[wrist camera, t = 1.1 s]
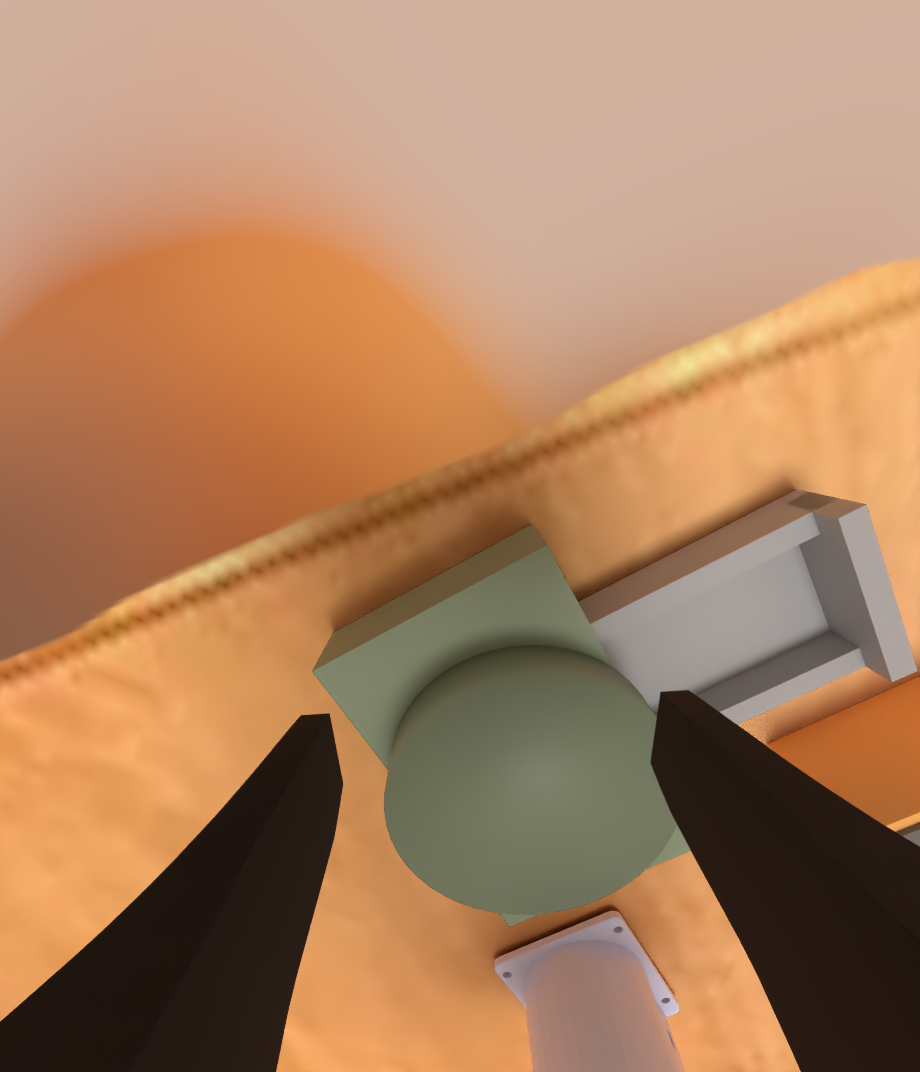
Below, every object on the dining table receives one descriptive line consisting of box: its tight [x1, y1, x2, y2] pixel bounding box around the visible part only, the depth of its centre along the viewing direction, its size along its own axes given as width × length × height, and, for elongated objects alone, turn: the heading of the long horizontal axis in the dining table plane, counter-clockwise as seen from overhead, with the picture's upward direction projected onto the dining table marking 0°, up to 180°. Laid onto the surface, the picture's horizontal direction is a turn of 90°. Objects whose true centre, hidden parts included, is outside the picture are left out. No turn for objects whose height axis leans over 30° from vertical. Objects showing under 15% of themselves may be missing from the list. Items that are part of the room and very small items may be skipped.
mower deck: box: [312, 489, 918, 927], centre depth 17 cm, size 16×21×5 cm
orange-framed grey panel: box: [767, 676, 920, 846], centre depth 19 cm, size 4×8×5 cm, turn 120°
